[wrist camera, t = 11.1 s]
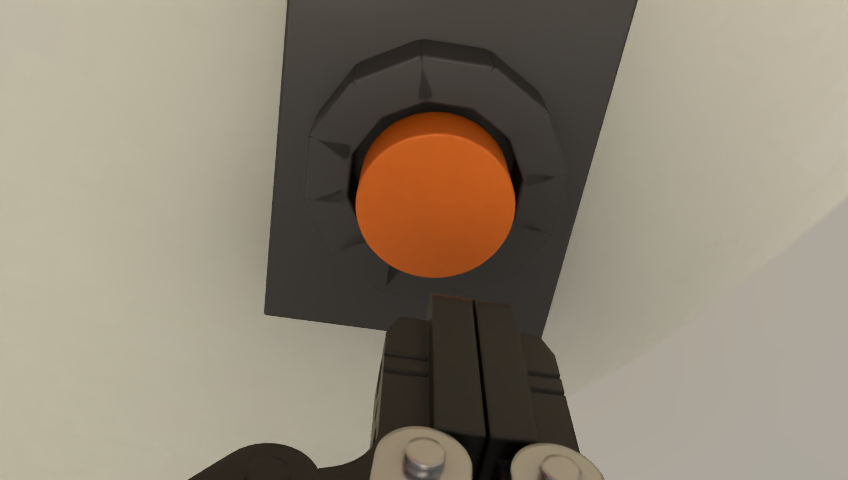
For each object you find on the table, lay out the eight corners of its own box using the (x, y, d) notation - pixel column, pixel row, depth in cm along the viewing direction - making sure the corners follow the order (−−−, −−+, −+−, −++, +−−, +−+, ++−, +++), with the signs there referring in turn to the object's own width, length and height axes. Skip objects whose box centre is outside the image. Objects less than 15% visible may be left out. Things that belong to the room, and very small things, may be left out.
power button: (491, 256, 21) (497, 288, 20) (352, 236, 21) (346, 267, 19) (523, 123, 19) (531, 146, 18) (370, 99, 19) (366, 121, 17)
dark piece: (529, 315, 26) (546, 387, 23) (275, 280, 26) (252, 349, 22) (625, -39, 21) (667, -17, 17) (306, -96, 20) (281, -85, 17)
